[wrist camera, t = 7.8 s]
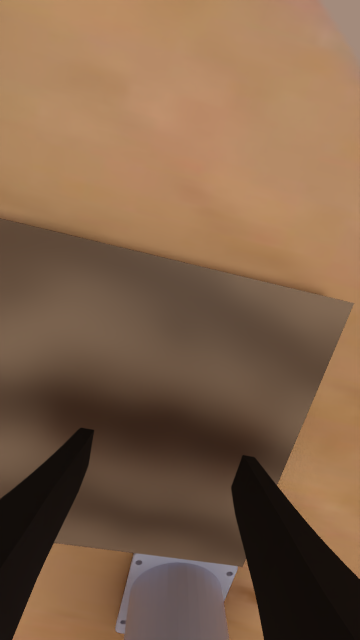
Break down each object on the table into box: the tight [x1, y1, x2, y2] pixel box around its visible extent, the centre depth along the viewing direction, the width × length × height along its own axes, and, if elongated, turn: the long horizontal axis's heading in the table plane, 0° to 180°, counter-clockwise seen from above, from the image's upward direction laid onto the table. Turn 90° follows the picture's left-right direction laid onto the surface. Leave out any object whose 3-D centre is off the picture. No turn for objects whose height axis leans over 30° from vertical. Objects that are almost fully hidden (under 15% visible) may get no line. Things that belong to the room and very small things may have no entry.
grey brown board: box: [0, 218, 354, 567], centre depth 12 cm, size 18×28×2 cm, turn 77°
